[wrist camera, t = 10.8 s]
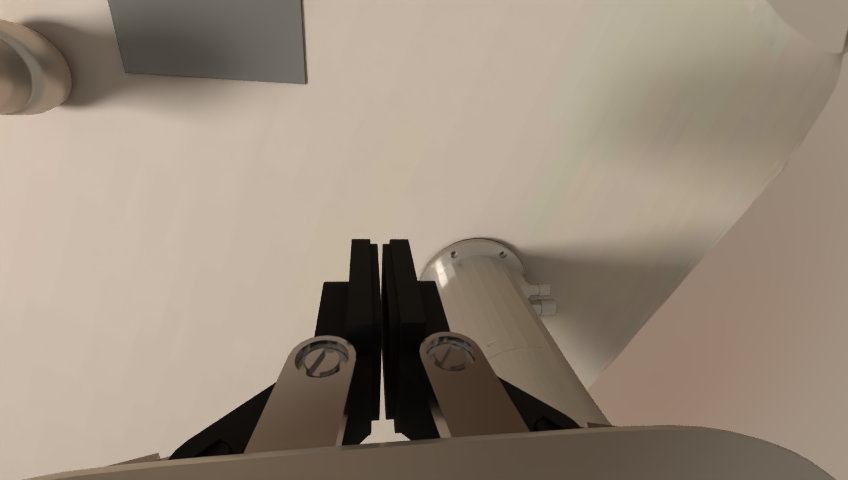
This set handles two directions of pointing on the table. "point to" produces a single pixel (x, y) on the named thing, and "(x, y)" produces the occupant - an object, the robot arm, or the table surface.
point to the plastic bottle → (30, 72)
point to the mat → (212, 38)
